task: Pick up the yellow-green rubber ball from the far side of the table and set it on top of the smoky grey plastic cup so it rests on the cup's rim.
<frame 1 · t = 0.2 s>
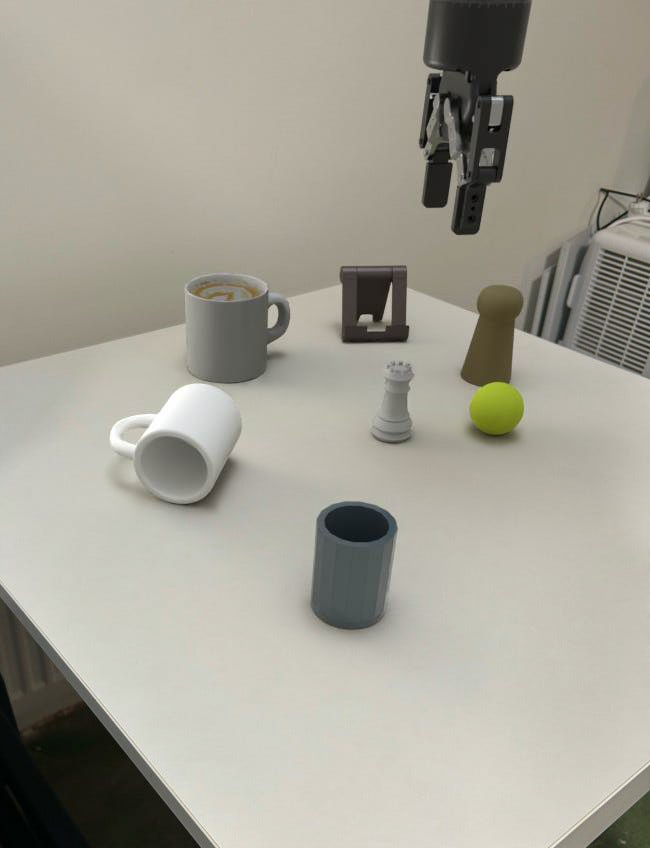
hand: (448, 219, 71), 24 cm above the table, tool pointing down, fingers open, 8 cm apart
coffee mug: (240, 365, 104), on the table
brown game pawn: (485, 377, 102), on the table
tablet stand: (369, 333, 113), on the table
mug: (171, 476, 82), on the table
cup: (348, 604, 67), on the table
ball: (496, 408, 88), point 3 cm above the table
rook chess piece: (390, 435, 90), on the table
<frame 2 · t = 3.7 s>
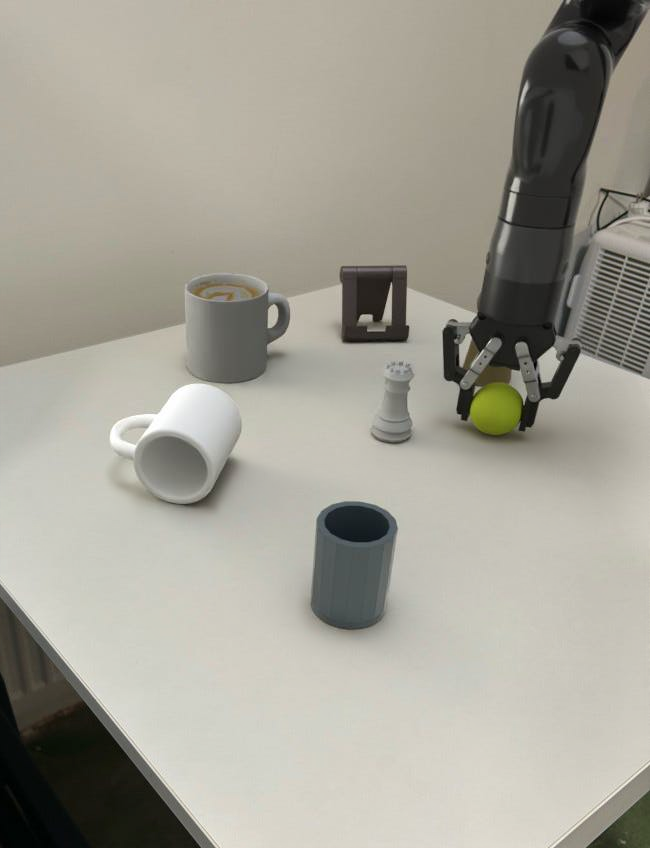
hand: (493, 422, 89), 1 cm above the table, tool pointing down, fingers closed on ball, 5 cm apart
ball: (496, 408, 88), point 3 cm above the table, touching gripper
everything else where it was.
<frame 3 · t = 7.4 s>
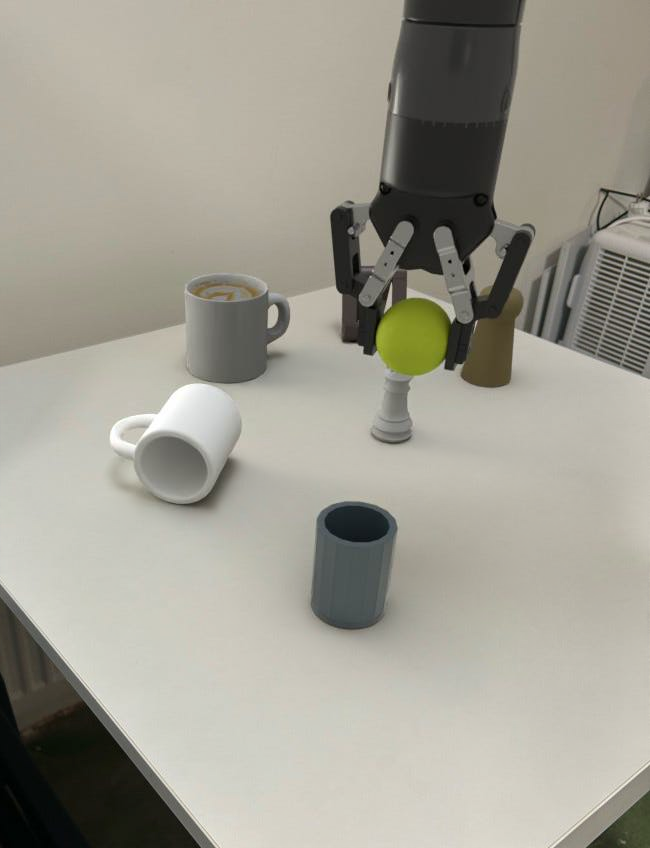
hand: (410, 358, 62), 18 cm above the table, tool pointing down, fingers closed on ball, 5 cm apart
ball: (414, 337, 61), point 20 cm above the table, touching gripper
everything else where it was.
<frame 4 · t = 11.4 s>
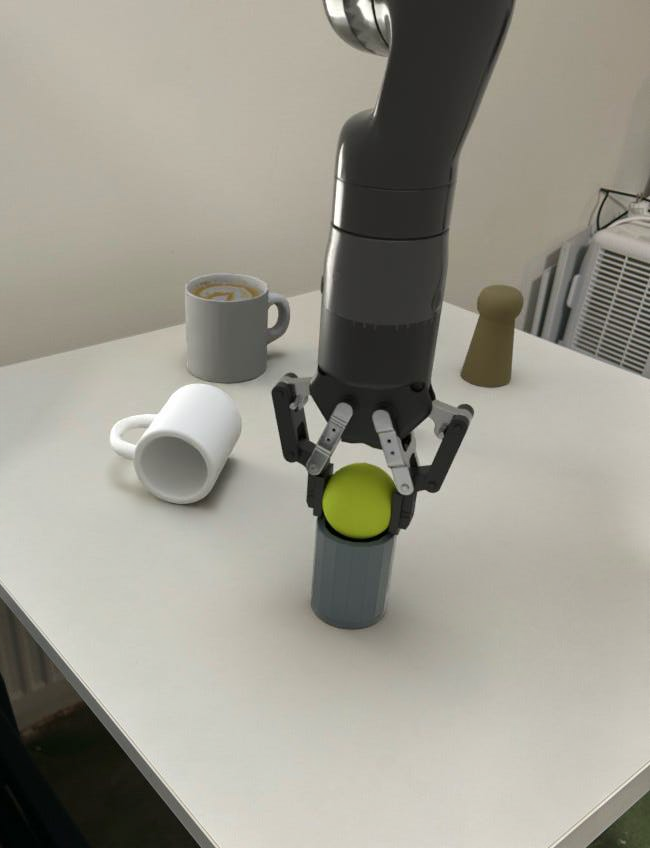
hand: (357, 519, 62), 8 cm above the table, tool pointing down, fingers closed on ball, 5 cm apart
ball: (360, 500, 61), point 10 cm above the table, touching gripper
everything else where it was.
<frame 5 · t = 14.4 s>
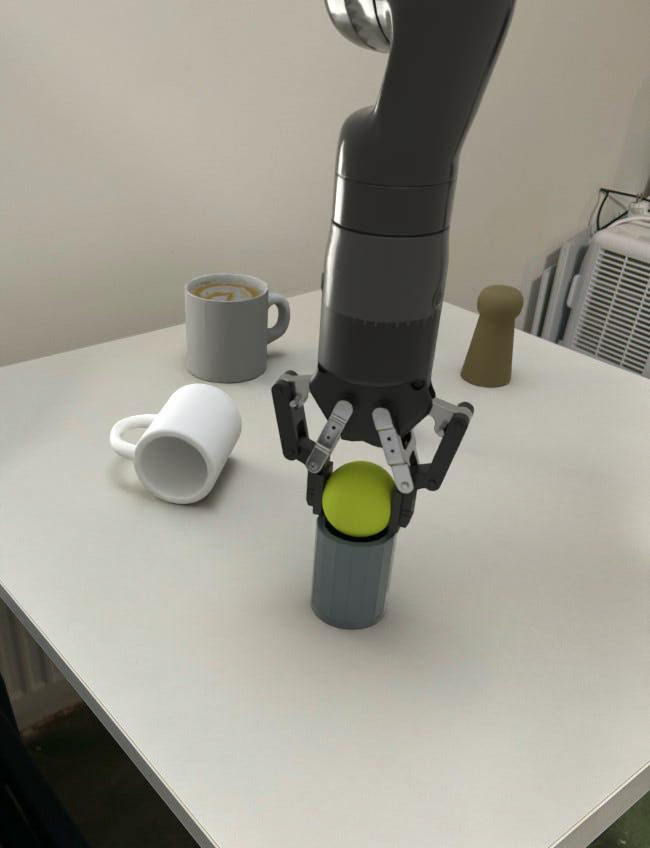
hand: (357, 517, 62), 9 cm above the table, tool pointing down, fingers closed on ball, 5 cm apart
ball: (360, 499, 61), point 10 cm above the table, touching gripper
everything else where it was.
when the fingers open (9 cm above the table, at t = 16.9 s): ball stays where it is, resting on cup.
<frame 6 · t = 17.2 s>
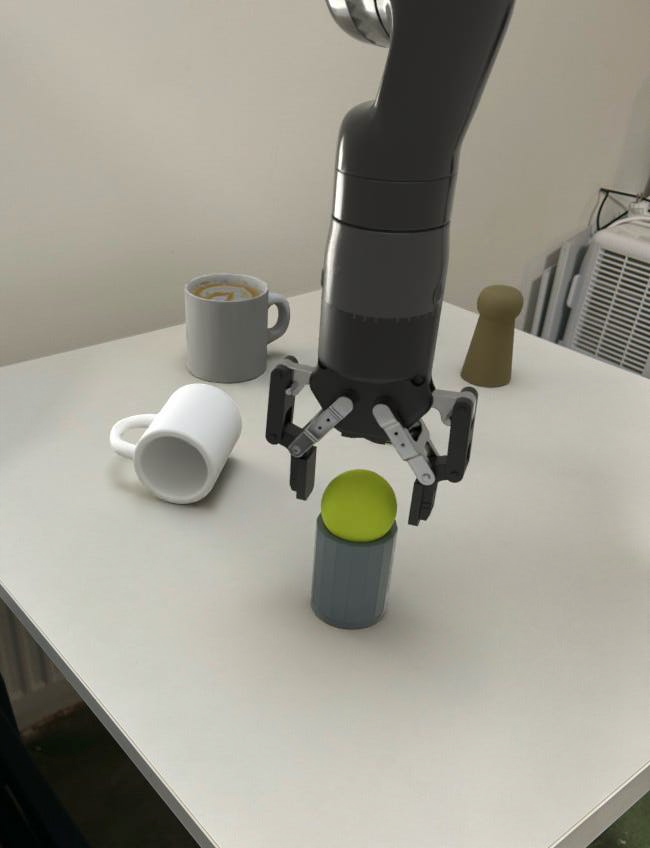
hand: (358, 507, 61), 9 cm above the table, tool pointing down, fingers open, 8 cm apart
cup: (348, 604, 67), on the table, touching ball
ball: (358, 507, 61), point 9 cm above the table, touching cup
everything else where it was.
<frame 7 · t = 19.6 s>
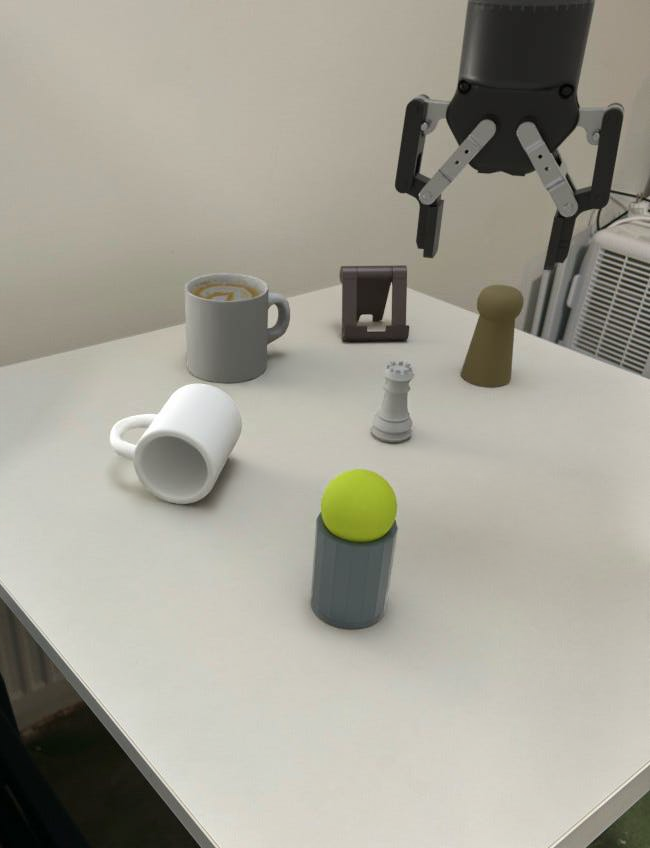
hand: (488, 261, 60), 25 cm above the table, tool pointing down, fingers open, 8 cm apart
nothing on the table moved.
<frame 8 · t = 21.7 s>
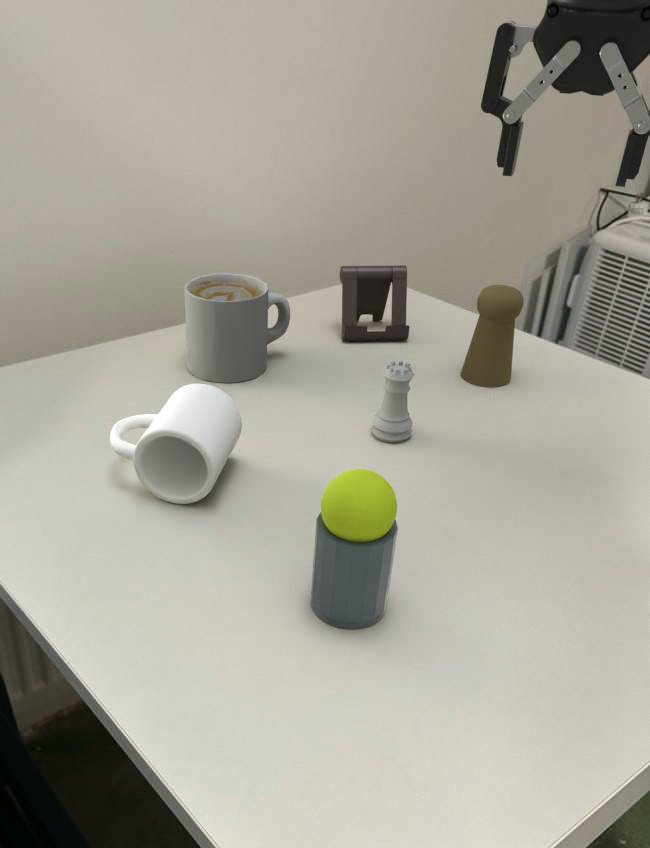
hand: (562, 179, 65), 28 cm above the table, tool pointing down, fingers open, 8 cm apart
nothing on the table moved.
at the end: ball 0.0 cm off-centre on the cup, point 9.4 cm above the cup's base; cup tilted 0°; the gripper is holding nothing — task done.
